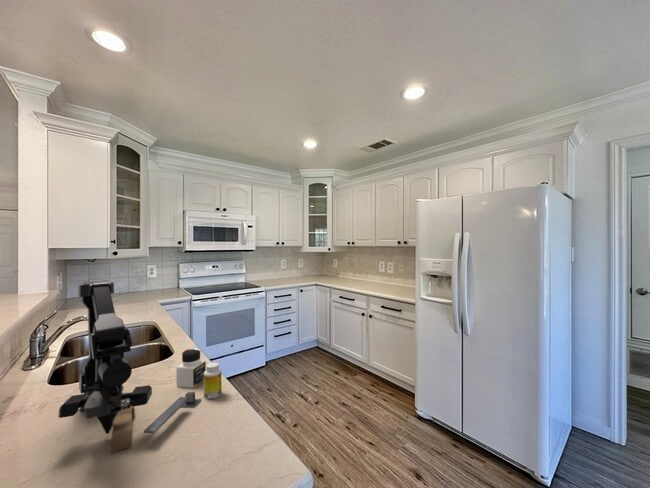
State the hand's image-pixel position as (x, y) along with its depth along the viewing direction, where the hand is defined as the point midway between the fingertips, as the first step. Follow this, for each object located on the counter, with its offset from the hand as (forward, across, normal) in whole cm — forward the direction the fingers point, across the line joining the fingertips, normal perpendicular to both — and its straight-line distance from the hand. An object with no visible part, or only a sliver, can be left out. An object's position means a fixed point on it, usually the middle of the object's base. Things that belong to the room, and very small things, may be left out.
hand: (108, 432), depth 74 cm
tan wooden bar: (+1, +2, +3) cm, 4 cm away
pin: (+2, +1, +10) cm, 10 cm away
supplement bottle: (+1, +25, +13) cm, 28 cm away
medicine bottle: (+1, +17, +26) cm, 31 cm away
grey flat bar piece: (+1, +15, +2) cm, 15 cm away
